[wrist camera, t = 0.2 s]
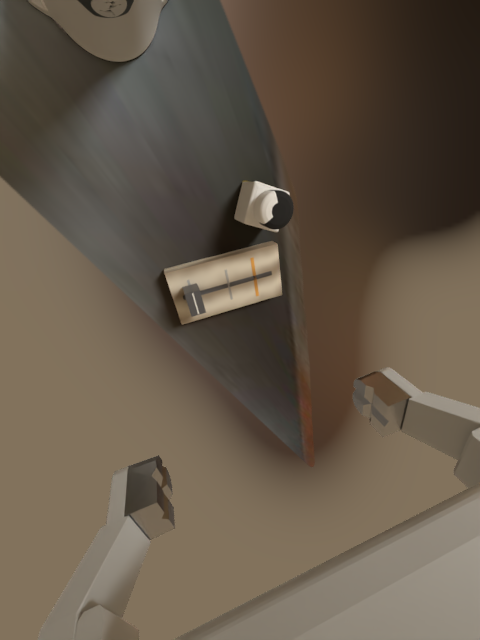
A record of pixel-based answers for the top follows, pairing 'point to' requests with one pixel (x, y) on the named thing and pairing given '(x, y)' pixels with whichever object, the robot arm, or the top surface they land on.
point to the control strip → (227, 280)
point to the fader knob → (194, 299)
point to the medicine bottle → (263, 206)
